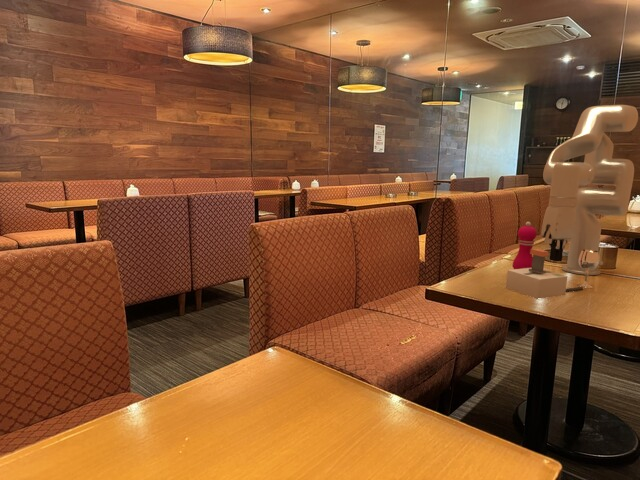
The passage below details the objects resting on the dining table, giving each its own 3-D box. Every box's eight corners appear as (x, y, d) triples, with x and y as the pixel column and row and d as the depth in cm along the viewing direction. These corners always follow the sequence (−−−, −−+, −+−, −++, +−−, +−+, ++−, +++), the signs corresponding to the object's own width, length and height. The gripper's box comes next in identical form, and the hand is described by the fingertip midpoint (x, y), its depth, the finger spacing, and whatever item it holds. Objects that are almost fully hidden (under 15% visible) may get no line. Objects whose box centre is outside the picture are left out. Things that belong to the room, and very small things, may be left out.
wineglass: (575, 286, 148) (580, 251, 146) (575, 282, 153) (579, 248, 151) (595, 289, 145) (601, 253, 143) (594, 285, 150) (599, 250, 148)
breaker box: (554, 282, 153) (556, 265, 152) (587, 292, 142) (589, 273, 141) (505, 288, 144) (507, 269, 143) (537, 299, 133) (539, 279, 132)
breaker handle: (534, 269, 143) (537, 248, 141) (546, 273, 139) (549, 251, 137) (527, 270, 141) (530, 249, 140) (539, 273, 137) (541, 251, 136)
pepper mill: (529, 275, 161) (535, 220, 157) (536, 281, 154) (543, 223, 150) (508, 274, 162) (514, 219, 158) (515, 280, 155) (521, 222, 151)
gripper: (568, 201, 146) (561, 256, 149) (535, 202, 140) (528, 259, 143) (590, 203, 139) (582, 261, 142) (556, 204, 133) (549, 264, 136)
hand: (555, 260), depth 142 cm, fingers closed
